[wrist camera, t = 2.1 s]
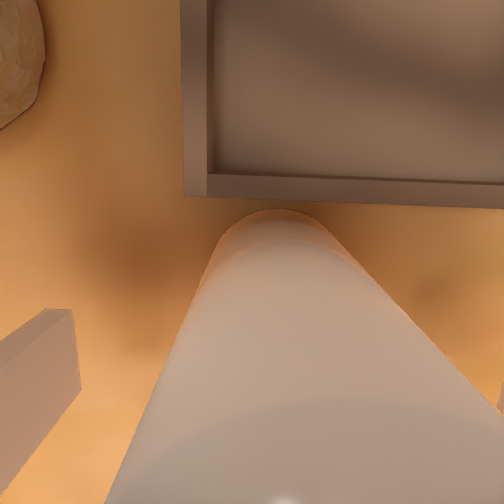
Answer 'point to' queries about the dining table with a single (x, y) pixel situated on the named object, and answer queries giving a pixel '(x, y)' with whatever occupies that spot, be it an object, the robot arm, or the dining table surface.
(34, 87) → the decorative item
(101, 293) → the dining table surface
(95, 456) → the dining table surface
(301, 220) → the white rounded tapered cylinder
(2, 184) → the dining table surface
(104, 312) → the dining table surface
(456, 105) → the tray
